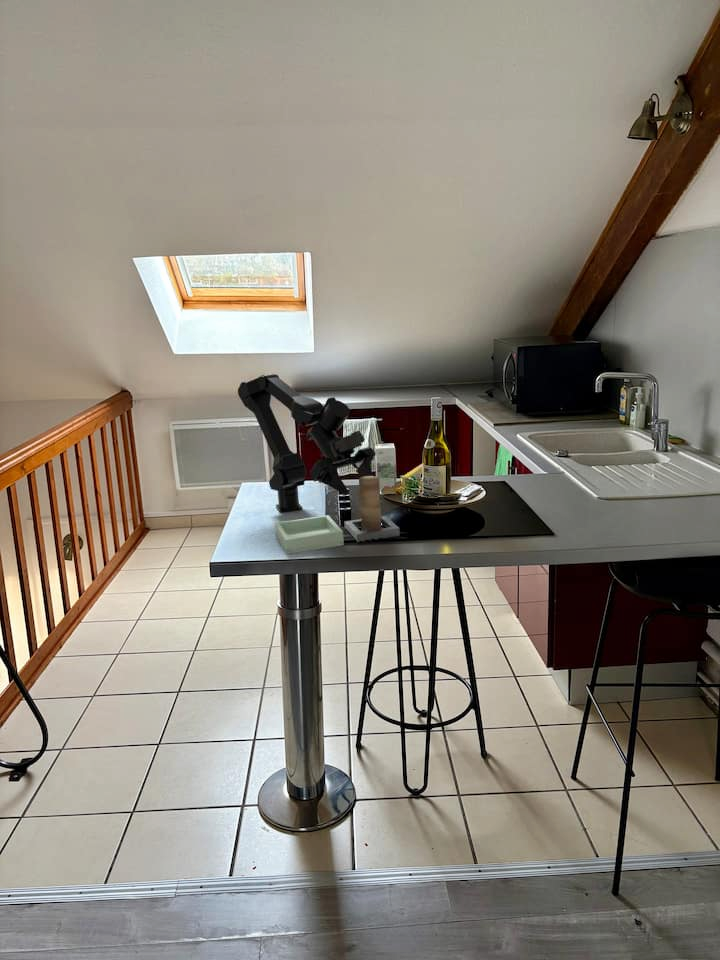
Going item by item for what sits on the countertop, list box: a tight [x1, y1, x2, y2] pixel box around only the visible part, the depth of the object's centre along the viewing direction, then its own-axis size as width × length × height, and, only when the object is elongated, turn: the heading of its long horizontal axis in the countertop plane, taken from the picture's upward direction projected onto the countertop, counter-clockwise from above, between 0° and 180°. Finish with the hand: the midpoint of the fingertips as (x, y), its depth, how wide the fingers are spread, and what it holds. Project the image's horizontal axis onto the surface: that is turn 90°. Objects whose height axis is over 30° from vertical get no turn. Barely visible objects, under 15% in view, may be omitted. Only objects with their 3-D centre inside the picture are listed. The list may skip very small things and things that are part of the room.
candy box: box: [401, 463, 423, 494], centre depth 214 cm, size 16×2×8 cm, turn 155°
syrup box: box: [374, 443, 397, 489], centre depth 219 cm, size 6×6×14 cm
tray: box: [274, 514, 345, 555], centre depth 183 cm, size 14×14×4 cm
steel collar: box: [343, 515, 401, 543], centre depth 186 cm, size 11×11×2 cm
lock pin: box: [358, 475, 383, 532], centre depth 185 cm, size 5×5×14 cm
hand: (360, 489), depth 186 cm, fingers open, 9 cm apart
